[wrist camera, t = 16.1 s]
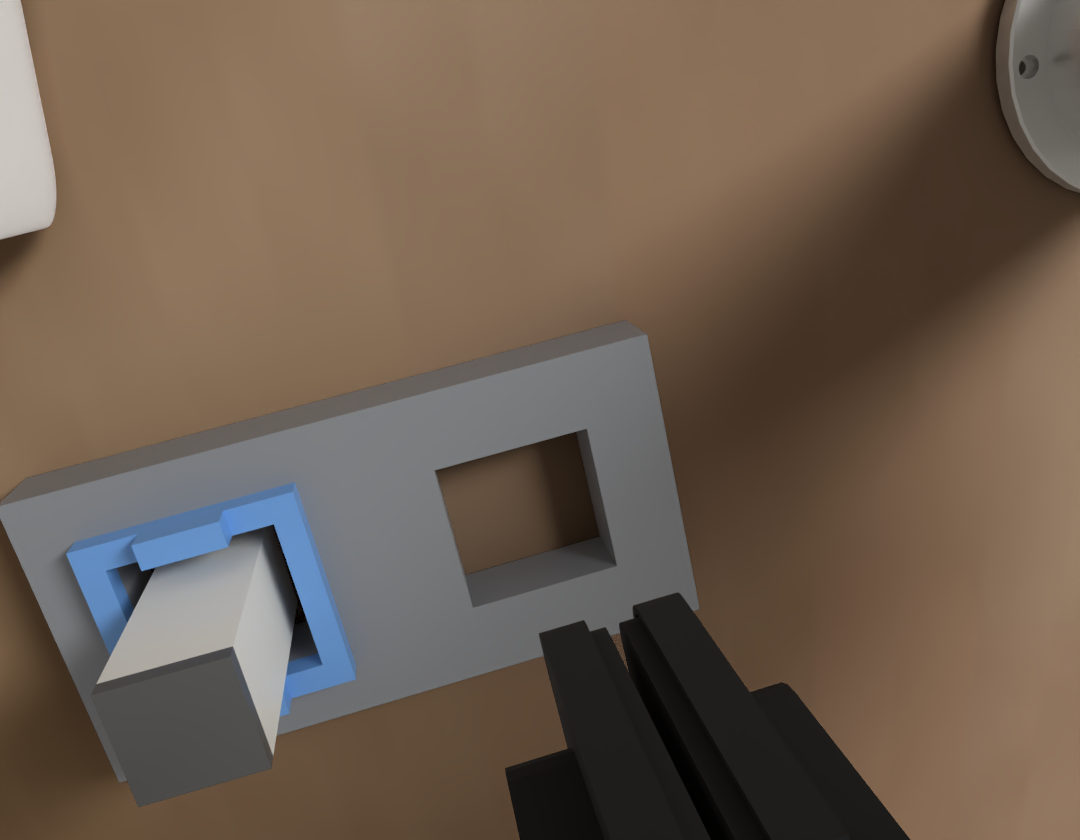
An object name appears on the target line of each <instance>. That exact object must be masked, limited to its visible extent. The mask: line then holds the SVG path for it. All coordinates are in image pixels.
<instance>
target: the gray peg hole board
mask: <svg viewBox="0 0 1080 840" xmlns="http://www.w3.org/2000/svg"><path fill="white" fill-rule="evenodd" d="M573 432H576V433H577V438H578V442H579V447H580V451H581V456H582V460H583V465H584V469H585V474H586V478H587V482H588V487H589V491H590V496H591V500H592V505H593V509H594V514H595V518H596V522H597V527H598V531H599V537H596V538H592V539H589V540H586V541H582V542H579V543H575V544H572V545H568V546H565V547H561V548H558V549H554V550H551V551H547V552H544V553H540V554H537V555H533V556H530V557H526V558H523V559H519V560H516V561H512V562H509V563H505V564H502V565H499V566H495V567H492V568H488V569H485V570H481V571H478V572H474V573H471V574H467V575H465V571H464V568H463V564H462V561H461V557H460V553H459V550H458V546H457V543H456V539H455V536H454V532H453V528H452V525H451V521H450V518H449V514H448V511H447V507H446V503H445V500H444V496H443V493H442V489H441V486H440V482H439V478H438V475H437V471H436V470H438V469H442V468H446V467H449V466H453V465H456V464H460V463H464V462H467V461H471V460H475V459H478V458H482V457H486V456H489V455H493V454H497V453H500V452H504V451H507V450H511V449H515V448H518V447H522V446H526V445H529V444H533V443H537V442H540V441H544V440H547V439H551V438H555V437H558V436H562V435H566V434H569V433H573ZM0 519H1V521H2V524H3V526H4V528H5V530H6V532H7V535H8V537H9V539H10V541H11V544H12V546H13V548H14V550H15V552H16V555H17V557H18V559H19V561H20V563H21V566H22V568H23V570H24V572H25V575H26V577H27V579H28V581H29V583H30V586H31V588H32V590H33V592H34V595H35V597H36V599H37V601H38V603H39V606H40V608H41V610H42V612H43V614H44V617H45V619H46V621H47V623H48V626H49V628H50V630H51V632H52V634H53V637H54V639H55V641H56V643H57V646H58V648H59V650H60V652H61V654H62V657H63V659H64V661H65V663H66V665H67V668H68V670H69V672H70V674H71V677H72V679H73V681H74V683H75V685H76V688H77V690H78V692H79V694H80V697H81V699H82V701H83V703H84V705H85V708H86V710H87V712H88V714H89V716H90V719H91V721H92V723H93V725H94V728H95V730H96V732H97V734H98V736H99V739H100V741H101V743H102V745H103V748H104V750H105V752H106V754H107V756H108V759H109V761H110V763H111V765H112V767H113V770H114V772H115V774H116V776H117V779H118V781H119V783H120V782H124V781H127V779H126V777H125V775H124V772H123V770H122V768H121V766H120V763H119V761H118V759H117V756H116V754H115V752H114V749H113V747H112V745H111V742H110V740H109V738H108V735H107V733H106V731H105V728H104V726H103V724H102V721H101V719H100V717H99V715H98V712H97V710H96V708H95V705H94V703H93V701H92V698H91V696H90V695H91V693H92V691H93V690H94V688H95V686H96V684H97V682H98V680H99V678H100V676H101V674H102V672H103V670H104V668H105V666H106V664H107V662H108V660H109V658H110V656H111V654H112V652H113V650H114V648H115V646H116V644H117V642H118V640H119V639H120V637H121V635H122V633H123V631H124V629H125V627H126V625H127V623H128V621H129V619H130V617H131V615H132V613H133V611H134V609H135V607H136V605H137V603H138V601H139V599H140V597H141V595H142V593H143V591H144V589H145V588H146V586H147V584H148V582H149V580H150V578H151V576H152V573H151V571H150V569H152V568H155V567H159V566H162V565H166V564H170V563H173V562H177V561H180V560H184V559H188V558H191V557H195V556H199V555H202V554H206V553H209V552H213V551H217V550H220V549H224V548H227V547H228V546H229V544H230V541H231V538H232V536H234V535H237V534H241V533H244V532H248V531H252V530H255V529H259V528H263V527H266V526H270V525H273V524H274V526H275V529H276V532H277V535H278V538H279V541H280V544H281V547H282V549H283V552H284V555H285V558H286V561H287V564H288V567H289V570H290V572H291V575H292V578H293V581H294V584H295V587H296V590H297V593H298V595H299V598H300V601H301V604H302V607H303V610H304V613H305V616H306V618H307V621H304V622H300V623H297V624H294V628H293V634H292V641H291V647H290V653H289V660H288V666H287V672H286V679H285V685H284V691H283V698H282V704H281V710H280V717H279V723H278V729H277V735H281V734H284V733H287V732H291V731H294V730H297V729H301V728H304V727H307V726H311V725H314V724H317V723H321V722H324V721H327V720H331V719H334V718H338V717H341V716H344V715H348V714H351V713H354V712H358V711H361V710H364V709H368V708H371V707H374V706H378V705H381V704H384V703H388V702H391V701H394V700H398V699H401V698H404V697H408V696H411V695H414V694H418V693H421V692H424V691H428V690H431V689H434V688H438V687H441V686H445V685H448V684H451V683H455V682H458V681H461V680H465V679H468V678H471V677H475V676H478V675H481V674H485V673H488V672H491V671H495V670H498V669H501V668H505V667H508V666H511V665H515V664H518V663H521V662H525V661H528V660H531V659H535V658H538V657H541V656H544V654H543V650H542V646H541V642H540V638H539V633H542V632H545V631H548V630H552V629H555V628H558V627H562V626H565V625H569V624H572V623H575V622H579V621H582V620H584V621H585V622H586V624H587V626H588V628H589V631H593V630H597V629H600V628H603V627H606V628H607V630H608V632H609V634H610V636H612V635H615V634H618V633H620V629H619V623H620V622H624V621H627V620H630V619H634V617H633V609H632V608H633V605H636V604H639V603H643V602H646V601H650V600H653V599H656V598H660V597H663V596H666V595H670V594H673V593H677V592H678V593H680V594H681V595H682V596H683V598H684V599H685V601H686V602H687V603H688V605H689V606H690V608H691V609H692V611H695V610H699V609H700V608H699V603H698V597H697V592H696V587H695V582H694V577H693V571H692V566H691V561H690V556H689V550H688V545H687V540H686V535H685V530H684V524H683V519H682V514H681V509H680V504H679V498H678V493H677V488H676V483H675V478H674V472H673V467H672V462H671V457H670V451H669V446H668V441H667V436H666V431H665V425H664V420H663V415H662V410H661V405H660V399H659V394H658V389H657V384H656V378H655V373H654V368H653V363H652V358H651V352H650V347H649V342H648V337H647V334H646V333H645V332H643V331H642V330H640V329H639V328H637V327H636V326H634V325H633V324H631V323H630V322H628V321H627V320H624V321H620V322H616V323H613V324H609V325H605V326H601V327H598V328H594V329H590V330H586V331H582V332H579V333H575V334H571V335H567V336H563V337H560V338H556V339H552V340H548V341H544V342H541V343H537V344H533V345H529V346H525V347H522V348H518V349H514V350H510V351H506V352H503V353H499V354H495V355H491V356H488V357H484V358H480V359H476V360H472V361H469V362H465V363H461V364H457V365H453V366H450V367H446V368H442V369H438V370H434V371H431V372H427V373H423V374H419V375H415V376H412V377H408V378H404V379H400V380H396V381H393V382H389V383H385V384H381V385H377V386H374V387H370V388H366V389H362V390H359V391H355V392H351V393H347V394H343V395H340V396H336V397H332V398H328V399H324V400H321V401H317V402H313V403H309V404H305V405H302V406H298V407H294V408H290V409H286V410H283V411H279V412H275V413H271V414H267V415H264V416H260V417H256V418H252V419H249V420H245V421H241V422H237V423H233V424H230V425H226V426H222V427H218V428H214V429H211V430H207V431H203V432H199V433H195V434H192V435H188V436H184V437H180V438H176V439H173V440H169V441H165V442H161V443H157V444H154V445H150V446H146V447H142V448H138V449H135V450H131V451H127V452H123V453H120V454H116V455H112V456H108V457H104V458H101V459H97V460H93V461H89V462H85V463H82V464H78V465H74V466H70V467H66V468H63V469H59V470H55V471H51V472H47V473H44V474H40V475H36V476H32V477H28V478H25V479H24V480H23V481H22V482H21V483H20V484H19V485H18V486H17V487H16V488H15V489H14V490H13V491H12V492H11V493H10V494H9V495H7V496H6V497H5V498H4V499H3V500H2V501H1V502H0Z"/></svg>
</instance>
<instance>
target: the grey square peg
mask: <svg viewBox="0 0 1080 840" xmlns="http://www.w3.org/2000/svg"><path fill="white" fill-rule="evenodd" d="M297 603H298V600H297V597H296V594H295V591H294V588H293V585H292V582H291V579H290V576H289V573H288V570H287V567H286V564H285V561H284V558H283V555H282V552H281V549H280V546H279V543H278V540H277V537H276V534H275V531H274V528H273V525H270V526H266V527H263V528H259V529H255V530H252V531H248V532H244V533H241V534H237V535H234V536H232V538H231V541H230V544H229V546H228V547H227V548H224V549H220V550H217V551H213V552H209V553H206V554H202V555H199V556H195V557H191V558H188V559H184V560H180V561H177V562H173V563H170V564H166V565H162V566H159V567H156V568H155V570H154V572H153V574H152V576H151V578H150V580H149V582H148V584H147V586H146V588H145V589H144V591H143V593H142V595H141V597H140V599H139V601H138V603H137V605H136V607H135V609H134V611H133V613H132V615H131V617H130V619H129V621H128V623H127V625H126V627H125V629H124V631H123V633H122V635H121V637H120V639H119V640H118V642H117V644H116V646H115V648H114V650H113V652H112V654H111V656H110V658H109V660H108V662H107V664H106V666H105V668H104V670H103V672H102V674H101V676H100V678H99V680H98V682H97V684H96V686H95V688H94V690H93V691H92V693H91V695H90V696H91V698H92V701H93V703H94V705H95V708H96V710H97V712H98V715H99V717H100V719H101V721H102V724H103V726H104V728H105V731H106V733H107V735H108V738H109V740H110V742H111V745H112V747H113V749H114V752H115V754H116V756H117V759H118V761H119V763H120V766H121V768H122V770H123V772H124V775H125V777H126V779H127V782H128V784H129V786H130V789H131V791H132V793H133V796H134V798H135V800H136V803H137V805H138V807H141V806H145V805H148V804H151V803H155V802H158V801H162V800H165V799H168V798H172V797H175V796H179V795H182V794H186V793H189V792H192V791H196V790H199V789H203V788H206V787H210V786H213V785H216V784H220V783H223V782H227V781H230V780H233V779H237V778H240V777H244V776H247V775H251V774H254V773H257V772H261V771H264V770H268V769H271V767H272V761H273V755H274V748H275V742H276V736H277V729H278V723H279V717H280V710H281V704H282V698H283V691H284V685H285V679H286V672H287V666H288V660H289V653H290V647H291V641H292V634H293V628H294V622H295V616H296V609H297Z"/></svg>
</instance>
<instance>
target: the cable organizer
mask: <svg viewBox="0 0 1080 840" xmlns="http://www.w3.org/2000/svg"><path fill="white" fill-rule="evenodd" d="M55 210H56V180H55V171H54V164H53V158H52V153H51V148H50V143H49V138H48V134H47V129H46V124H45V119H44V114H43V109H42V104H41V99H40V94H39V89H38V84H37V79H36V74H35V69H34V64H33V59H32V54H31V49H30V45H29V40H28V35H27V30H26V25H25V20H24V15H23V10H22V5H21V0H0V240H1V239H5V238H9V237H13V236H17V235H21V234H25V233H29V232H33V231H37V230H41V229H45V228H47V227H49V226H50V225H51V223H52V221H53V219H54V216H55Z"/></svg>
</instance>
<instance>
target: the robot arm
mask: <svg viewBox="0 0 1080 840" xmlns="http://www.w3.org/2000/svg"><path fill="white" fill-rule="evenodd" d="M996 82H997V87H998V92H999V97H1000V102H1001V107H1002V112H1003V114H1004V117H1005V119H1006V122H1007V124H1008V127H1009V129H1010V132H1011V134H1012V137H1013V138H1014V140H1015V141H1016V143H1017V144H1018V146H1019V147H1020V149H1021V150H1022V152H1023V153H1024V155H1025V156H1026V158H1027V159H1028V160H1029V161H1030V162H1031V163H1032V164H1033V165H1034V166H1035V167H1036V168H1037V169H1038V170H1039V171H1040V172H1041V173H1042V174H1043V175H1044V176H1045V177H1047V178H1049V179H1050V180H1052V181H1054V182H1056V183H1057V184H1059V185H1061V186H1062V187H1064V188H1066V189H1068V190H1072V191H1075V192H1078V193H1080V0H1005V3H1004V7H1003V10H1002V13H1001V16H1000V23H999V30H998V37H997V44H996ZM632 609H633V617H634V619H630V620H627V621H624V622H620V623H619V629H620V635H621V639H622V644H623V648H624V653H625V657H626V661H627V666H628V670H629V672H628V670H627V668H626V666H625V664H624V662H623V660H622V658H621V656H620V654H619V652H618V650H617V648H616V646H615V644H614V642H613V640H612V638H611V636H610V634H609V632H608V630H607V628H606V627H603V628H600V629H597V630H593V631H589V628H588V626H587V624H586V622H585V621H584V620H582V621H579V622H575V623H572V624H569V625H565V626H562V627H558V628H555V629H552V630H548V631H545V632H542V633H539V638H540V642H541V646H542V650H543V654H544V658H545V662H546V666H547V670H548V674H549V678H550V681H551V685H552V689H553V693H554V697H555V701H556V705H557V709H558V712H559V716H560V720H561V724H562V728H563V732H564V736H565V740H566V743H567V747H568V749H566V750H563V751H559V752H556V753H553V754H550V755H546V756H543V757H540V758H537V759H534V760H530V761H527V762H524V763H521V764H517V765H514V766H511V767H508V768H505V771H506V777H507V782H508V786H509V791H510V795H511V800H512V805H513V809H514V814H515V818H516V823H517V828H518V832H519V837H520V840H910V839H909V837H908V836H907V835H906V834H905V832H904V831H903V830H902V828H901V827H900V826H899V825H898V823H897V822H896V821H895V819H894V818H893V817H892V816H891V814H890V813H889V812H888V811H887V809H886V808H885V807H884V805H883V804H882V803H881V802H880V800H879V799H878V798H877V796H876V795H875V794H874V793H873V791H872V790H871V789H870V787H869V786H868V785H867V784H866V782H865V781H864V780H863V779H862V777H861V776H860V775H859V773H858V772H857V771H856V770H855V768H854V767H853V766H852V764H851V763H850V762H849V761H848V759H847V758H846V757H845V756H844V754H843V753H842V752H841V750H840V749H839V748H838V747H837V745H836V744H835V743H834V741H833V740H832V739H831V738H830V736H829V735H828V734H827V732H826V731H825V730H824V729H823V727H822V726H821V725H820V724H819V722H818V721H817V720H816V718H815V717H814V716H813V715H812V713H811V712H810V711H809V709H808V708H807V707H806V706H805V704H804V703H803V702H802V700H801V699H800V698H799V697H798V695H797V694H796V693H795V692H794V691H793V690H792V689H791V688H790V687H789V686H788V684H785V683H778V684H775V685H772V686H769V687H766V688H762V689H759V690H756V691H753V692H749V691H748V689H747V688H746V686H745V685H744V684H743V682H742V681H741V679H740V678H739V676H738V675H737V674H736V672H735V671H734V669H733V668H732V666H731V665H730V664H729V662H728V661H727V659H726V658H725V656H724V655H723V654H722V652H721V651H720V649H719V648H718V646H717V645H716V643H715V642H714V641H713V639H712V638H711V636H710V635H709V633H708V632H707V631H706V629H705V628H704V626H703V625H702V623H701V622H700V621H699V619H698V618H697V616H696V615H695V613H694V612H693V611H692V609H691V608H690V606H689V605H688V603H687V602H686V601H685V599H684V598H683V596H682V595H681V594H680V593H678V592H677V593H673V594H670V595H666V596H663V597H660V598H656V599H653V600H650V601H646V602H643V603H639V604H636V605H633V608H632Z"/></svg>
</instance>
